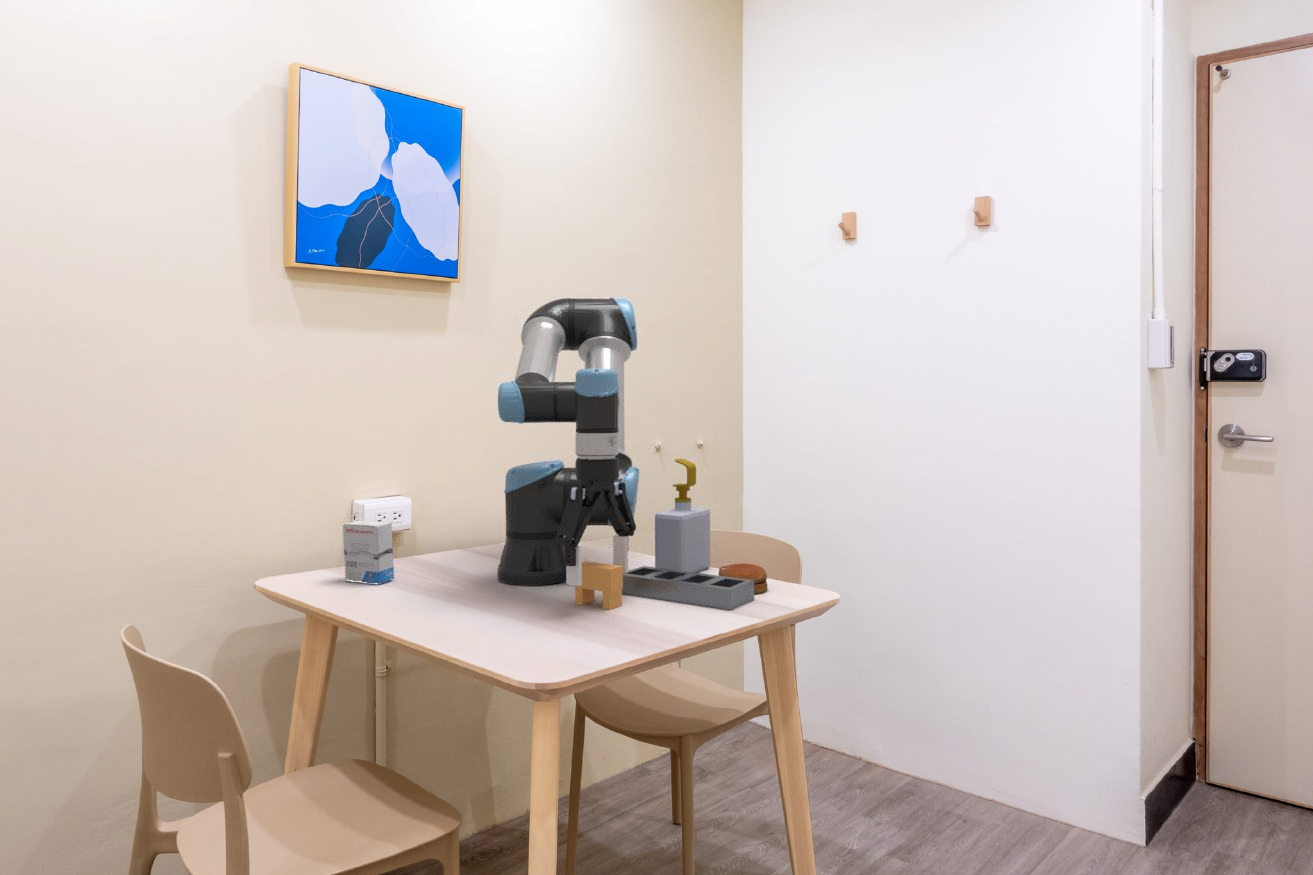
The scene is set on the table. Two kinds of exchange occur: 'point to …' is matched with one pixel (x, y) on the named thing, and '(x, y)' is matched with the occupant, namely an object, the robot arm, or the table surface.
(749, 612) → the table surface
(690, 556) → the soap bottle
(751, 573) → the burger
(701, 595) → the grey compartment tray
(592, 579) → the orange bridge block
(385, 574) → the ink box
